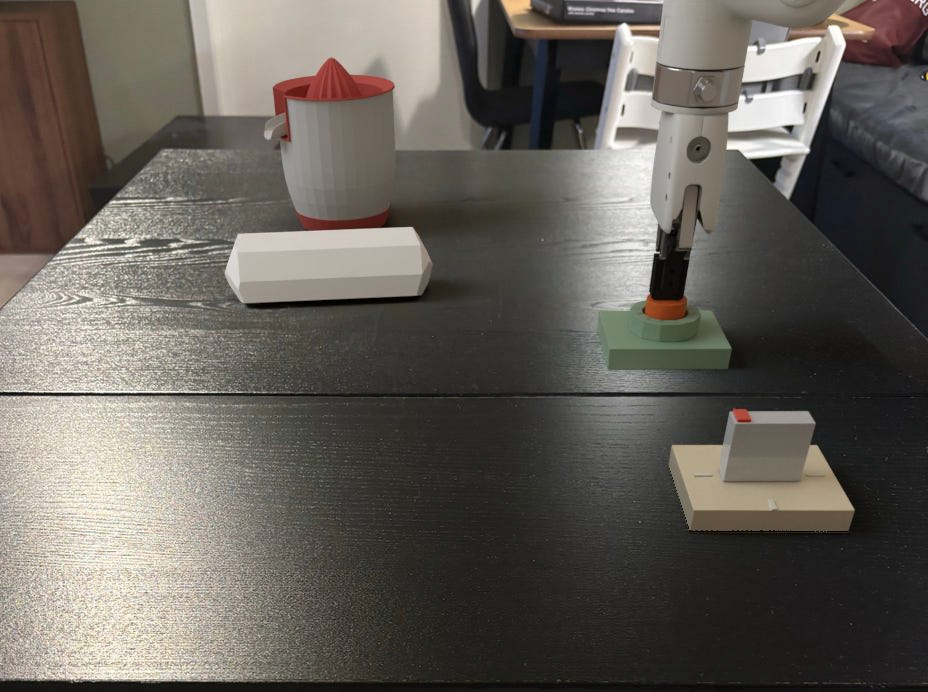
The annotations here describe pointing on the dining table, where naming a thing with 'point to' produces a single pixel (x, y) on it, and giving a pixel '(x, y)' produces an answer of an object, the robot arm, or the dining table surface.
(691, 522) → the plate
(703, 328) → the button block
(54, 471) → the dining table surface
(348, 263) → the crystal
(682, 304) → the button
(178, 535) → the dining table surface
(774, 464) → the tap handle
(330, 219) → the citrus juicer
